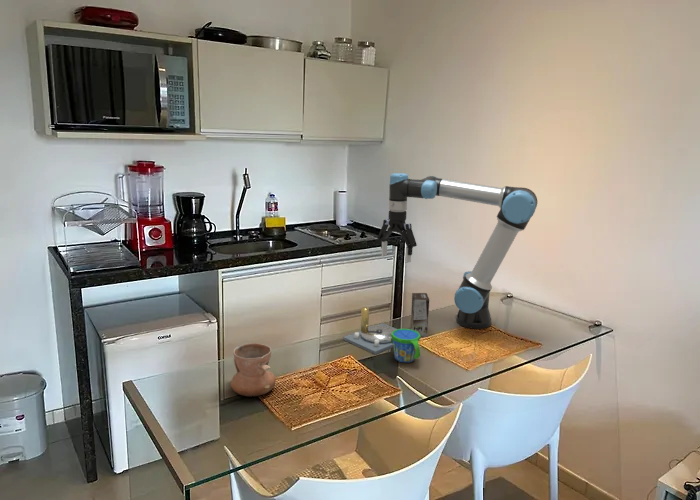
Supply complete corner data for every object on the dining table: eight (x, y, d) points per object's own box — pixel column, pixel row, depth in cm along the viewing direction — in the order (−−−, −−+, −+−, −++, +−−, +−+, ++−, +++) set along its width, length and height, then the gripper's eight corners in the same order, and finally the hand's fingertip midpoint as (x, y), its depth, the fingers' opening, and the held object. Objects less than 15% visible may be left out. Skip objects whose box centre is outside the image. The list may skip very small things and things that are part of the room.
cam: (405, 336, 216) (406, 309, 213) (379, 346, 206) (380, 318, 203) (378, 325, 226) (379, 300, 223) (353, 334, 216) (353, 308, 213)
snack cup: (427, 365, 194) (429, 339, 192) (402, 370, 190) (403, 344, 187) (406, 348, 208) (407, 324, 205) (382, 352, 204) (383, 328, 201)
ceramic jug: (286, 392, 174) (286, 351, 170) (249, 407, 164) (247, 364, 161) (255, 373, 186) (254, 335, 183) (219, 387, 176) (217, 347, 173)
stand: (414, 338, 218) (414, 329, 217) (375, 354, 202) (375, 345, 201) (382, 325, 230) (382, 317, 229) (343, 339, 215) (343, 331, 214)
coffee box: (427, 336, 220) (429, 299, 216) (412, 336, 220) (413, 299, 216) (425, 328, 228) (427, 292, 224) (410, 327, 229) (411, 292, 225)
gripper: (370, 207, 230) (369, 254, 235) (414, 215, 213) (412, 266, 218) (382, 205, 235) (380, 252, 240) (426, 213, 218) (424, 263, 223)
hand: (395, 259), depth 229 cm, fingers open, 13 cm apart
